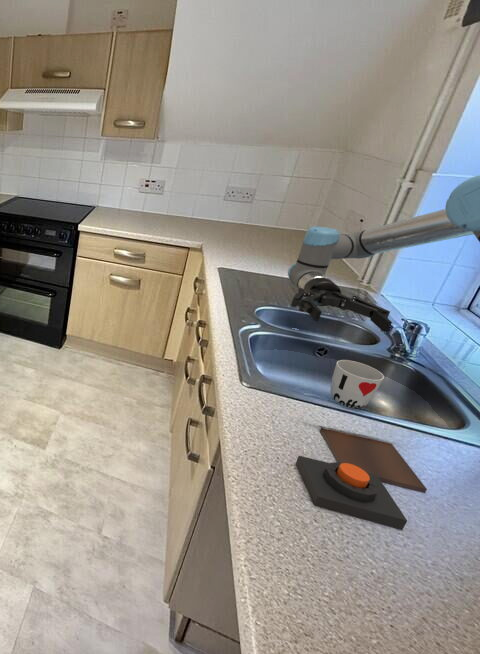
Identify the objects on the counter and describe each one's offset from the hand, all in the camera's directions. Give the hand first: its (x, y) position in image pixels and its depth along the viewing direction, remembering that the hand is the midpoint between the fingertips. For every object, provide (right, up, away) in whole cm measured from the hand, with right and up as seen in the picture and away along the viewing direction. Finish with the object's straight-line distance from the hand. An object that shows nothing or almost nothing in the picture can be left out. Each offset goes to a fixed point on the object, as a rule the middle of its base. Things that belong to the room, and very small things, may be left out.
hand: (352, 321), depth 100 cm
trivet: (-14, -25, -18) cm, 34 cm away
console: (-25, -28, -26) cm, 46 cm away
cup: (-4, -20, -2) cm, 20 cm away
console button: (-25, -25, -27) cm, 44 cm away
